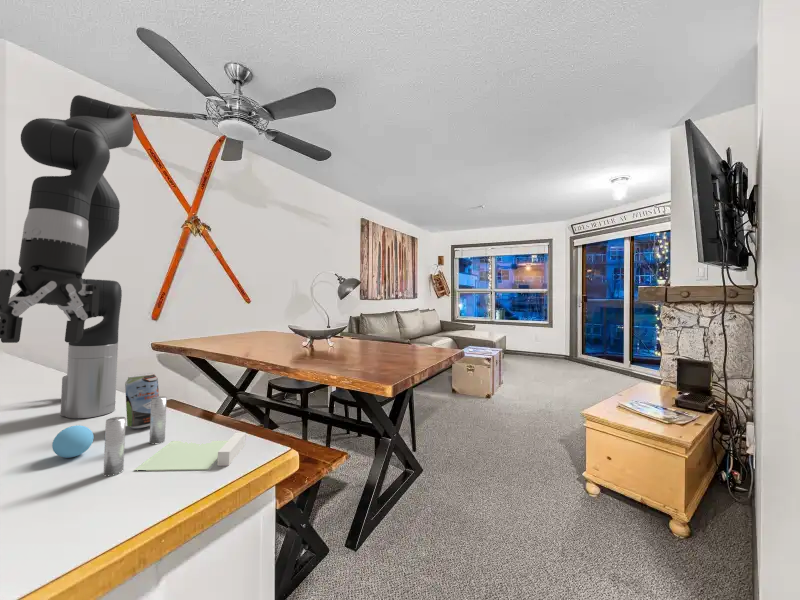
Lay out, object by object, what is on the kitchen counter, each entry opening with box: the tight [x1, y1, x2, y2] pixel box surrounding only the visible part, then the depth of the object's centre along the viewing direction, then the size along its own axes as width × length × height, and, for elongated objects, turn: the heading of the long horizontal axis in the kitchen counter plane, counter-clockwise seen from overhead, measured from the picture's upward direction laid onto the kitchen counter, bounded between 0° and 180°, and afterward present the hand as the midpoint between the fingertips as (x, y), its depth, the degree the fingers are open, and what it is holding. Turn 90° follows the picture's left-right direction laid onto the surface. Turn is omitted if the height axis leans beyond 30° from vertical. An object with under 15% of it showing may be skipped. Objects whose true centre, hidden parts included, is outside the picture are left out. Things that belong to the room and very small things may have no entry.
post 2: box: [149, 395, 168, 445], centre depth 70 cm, size 3×3×9 cm
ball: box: [51, 424, 95, 459], centre depth 63 cm, size 6×6×6 cm
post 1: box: [103, 416, 127, 477], centre depth 58 cm, size 3×3×9 cm
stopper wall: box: [217, 432, 247, 467], centre depth 66 cm, size 2×9×2 cm, turn 7°
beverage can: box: [124, 372, 160, 429], centre depth 78 cm, size 6×7×12 cm
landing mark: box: [134, 440, 229, 472], centre depth 65 cm, size 12×12×1 cm
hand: (43, 342), depth 54 cm, fingers open, 8 cm apart
